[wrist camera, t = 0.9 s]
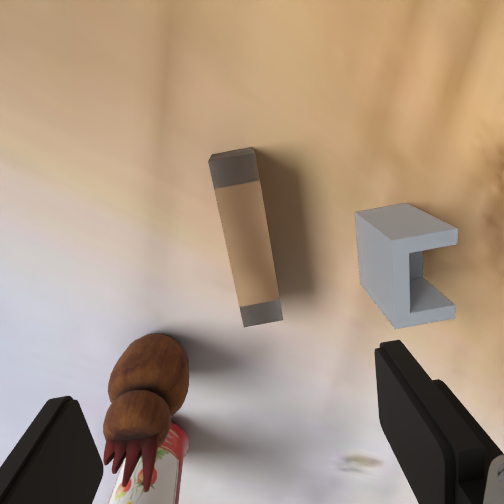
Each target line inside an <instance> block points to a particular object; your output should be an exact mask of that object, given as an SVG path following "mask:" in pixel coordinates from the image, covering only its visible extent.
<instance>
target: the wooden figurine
mask: <svg viewBox="0 0 504 504" xmlns="http://www.w3.org/2000/svg"><path fill="white" fill-rule="evenodd" d="M188 386H189V364H188V357H187V354H186V352H185V350H184V349H183V347H182V346H181V344H180V343H179V342H178V341H176V340H175V339H173V338H171V337H169V336H166V335H162V334H148V335H146V336H143V337H141V338H139V339H137V340H135V341H134V342H132V343H131V344H130V345H129V347H128V348H127V349H126V351H125V352H124V353H123V354H122V356H121V357H120V358H119V360H118V362H117V363H116V365H115V367H114V369H113V371H112V373H111V376H110V380H109V384H108V394H109V398H110V401H111V403H112V404H111V405H110V407H109V409H108V411H107V413H106V416H105V421H104V425H103V433H104V436H105V439H106V445H105V451H104V459H103V461H104V465H108V464H109V463H110V461H111V460H112V459H113V458H114V460H113V466H112V473H113V474H116V473H117V471H118V470H119V468H120V466H121V464H122V463H123V461H124V459H125V458H126V460H125V466H124V473H123V480H122V487H126V486H127V484H128V482H129V480H130V478H131V476H132V474H133V472H134V470H135V468H136V465H137V463H138V461H139V459H140V457H141V456H142V465H143V486H144V492H148V491H149V489H150V484H151V479H152V475H153V470H154V466H155V461H156V456H157V451H158V448H159V447H160V446H161V445H162V444H163V442H164V441H165V439H166V437H167V435H168V432H169V429H170V425H171V416H173V415H174V414H175V413H176V412H177V411H178V410H179V409H180V408H181V406H182V404H183V403H184V400H185V398H186V395H187V392H188Z"/></svg>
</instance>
